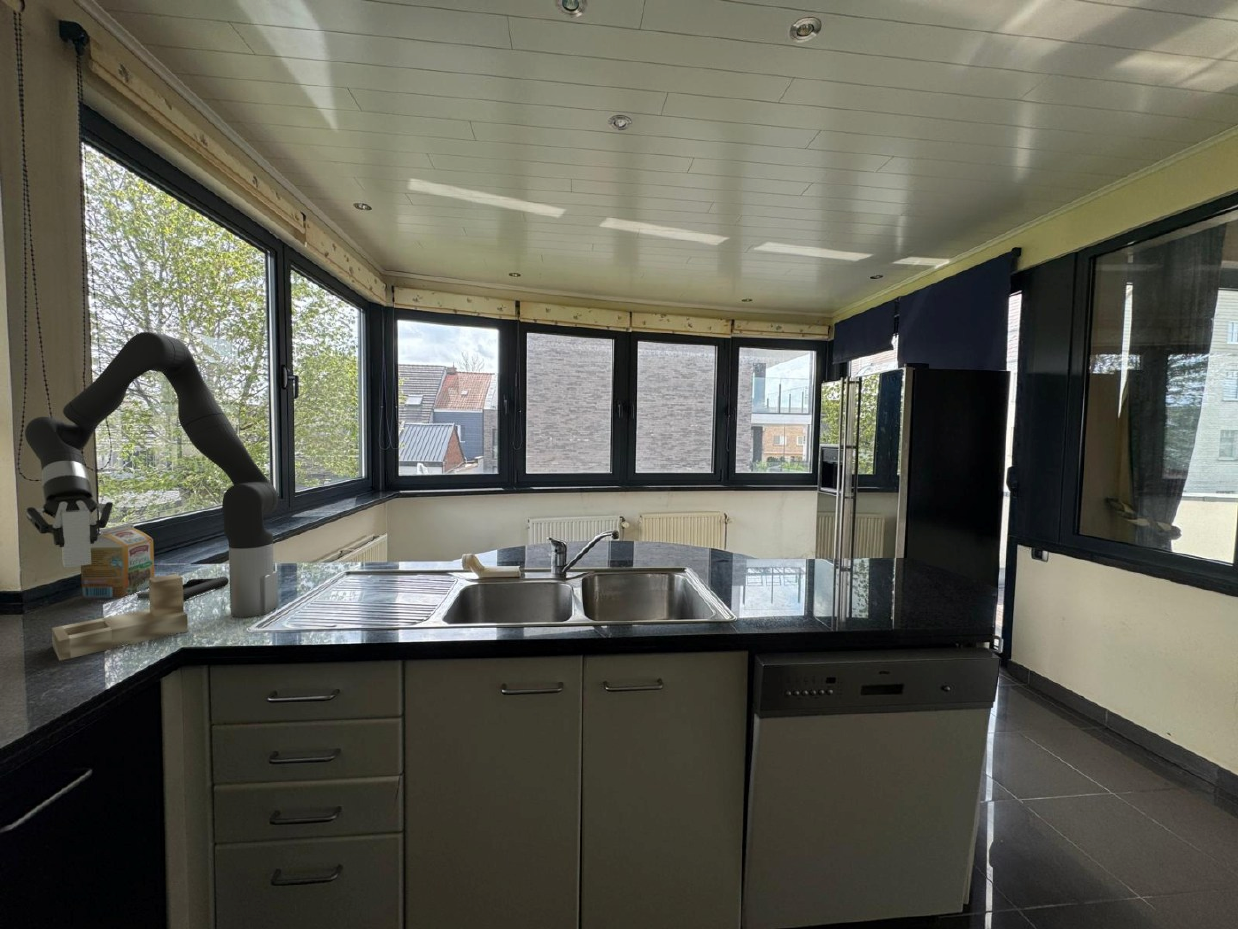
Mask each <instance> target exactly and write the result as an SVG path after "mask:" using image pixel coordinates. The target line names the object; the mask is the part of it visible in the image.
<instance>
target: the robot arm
mask: <svg viewBox="0 0 1238 929" xmlns="http://www.w3.org/2000/svg"><path fill="white" fill-rule="evenodd" d="M150 371H151V372H157V373H162V375H164V377H165V378H166V380H168V382H169V383H170V385H171V387H172V388H173V390H174V392H175V394H176V396H177V402H178V403H177V414H178V422H179V423H180V426H181V428H182V429H183V432H184V433H185V435H186V436H187V438H188V439H189V440H190V442H191V444H192V445H193V446H194V447H195V449H196V450H197V451H199V453H200V454H202V455H203V456H204V457H205V458H207V459H208V460H210V462H212V463H214V465H216V466H217V467H218V468H220V469H221V470H222V471H223V472H224V474H226V476H227V477H228V478H229V480H230V481H231V482H232V484H233V485H231V486H229V488H228V489H226V490H225V492H224V494H223V498H222V503H221V504H222V508H221V511H222V512H221V513H222V521H223V523H222V524H223V531H224V536H225V538H226V539H227V543H228V569H229V572H228V573H229V574H228V575H229V577H228V578H229V604H230V605H229V606H230V607H229V608H230V616H232V617H236V618H237V617H239V618H245V617H254V616H260V615H267V614H269V613H270V612H271V611H273V610H275V609H276V607H277V608H278V607H279V587H278V586H279V584H278V582H279V580H278V576H279V575H278V571H277V570H275V569H274V568H275V566H274V563H275V562H274V534H273V533H272V531H270V530H267V529H266V528H265V524H264V516H267V515H270V514H272V513H273V512H275V510H276V509H277V508H278V504H279V496H278V495H279V494H278V493H277V492H278V491H277V490H276V489H275V487H274V486H273V484H272V483H271V481H270V480H269V479H268V478H267V476H266V475H265V474H264V472H263V471H262V470H261V468H260V467H259V466H258V465H257V464H256V462H255V460H254V459H253V458H252V456H251V455H250V453H249V451H248V449H247V448H246V446H245V445H244V443H243V442H242V440H241V438H239V435H238V433H237V432H236V430H235V428H234V427H233V425H232V423H231V422H230V420H229V418H228V417H227V415H226V413H225V412H224V411H223V409H222V408H221V407H220V405H219V403H218V401H217V400H216V397H215V396H214V395H213V393H212V391H211V390H210V388H209V386H208V385H207V384H206V382H205V379H204V378H203V376H202V374H201V371H200V369H199V367H198V365H197V362H196V360H195V359H194V356H193V354H192V352H191V351H190V349H189V347H188V346H187V345H186V344H185V343H184V342H183V341H182V340H180V339H178V338H176V337H173V336H168V335H165V334H160V333H157V332H151V331H143V332H138V333H137V334H135V335H133V336H132V337H131V338H130V339H129V340H128V341H127V342H126V343H125V344H124V345H123V347H122V348H121V349H120V350H119V351H118V353H117V354H116V355H115V357H114V358H113V359H112V360H111V361H110V363H109V364H108V365H107V366H106V367H105V369H104V370H103V371H102V372H101V374H99V376H98V377H97V378H96V379H95V380H94V381H92V383H90V385H88V386H87V387H86V388H85V389H84V390H82V391H81V392H80V393H78V395H77V396H76V397H74V398H72V399H71V400H70V401H69V402H68V403H67V404H66V405H65V406H64V407H63V409H62V413H63V415H64V417H65V418H66V419H67V420H69V421H70V422H67V421H64V420H60V419H58V418H54V417H51V416H38V417H35V418H33V419H32V420H30V421H29V422H28V423H27V425H26V427H25V429H24V437H25V439H26V442H27V445H29V447H30V448H31V450H32V451H33V453H34V455H35V456H36V457H37V458H38V459H39V461H40V467H41V473H42V474H41V487H42V490H43V496H44V502H45V503H44V504H43V506H42V507H38V508H36V507H28V508H27V509H26V518H27V520H29V522H30V523H31V524H32V525H33V527H34V528H36V530H37V531H38V532H39V533H40V534H42V535H44V534H45V535H46V534H51V535H52V539H53V544H54V545H55V546H58V547H59V548H62V547H64V544H65V540H64V537H63V531H62V528H61V516H60V511H68V510H81V509H87V510H88V511H89V524H90V544H94V541H97V539H98V536H99V532H98V529H106V527H107V524H108V522H109V519H110V517H111V515H112V511H113V507H114V505H113V502H111V501H108V502H106V503H99V502H98V501H97V500H95V499H94V497H93V490H92V486H91V481H90V476H89V473H88V471H87V469H86V464H85V460H84V456H83V453H82V452H81V451H80V450H82V449H84V448H85V447H86V446H87V445H88V442H89V441H90V439H91V437H92V435H93V433H94V432H95V431H96V429H97V428H98V426H99V425H100V424H101V423H102V422H103V421H105V419H107V418H108V417H110V415H112V414H113V413H114V412H115V411H116V410H117V409H119V407H120V406H121V405H122V403H123V401H124V399H125V396H126V395H127V391H128V388H129V386H130V385H131V384H132V383H133V382H134V381H135V380H136V379H138V378H139V377H141V376H142V375H144V374H146V373H147V372H150ZM96 510H98V512H99V513H100V514H101V515H100V518H99V519H95V518H94V516H93V513H94V512H95V511H96ZM44 513H45V514H46V515H48V516H49V517H52V518H53V519H54V521H53V524H49V523H48V522H47V520H46V519H45V518H44V517H43V516H44ZM274 608H275V609H274Z"/></svg>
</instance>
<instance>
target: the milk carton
mask: <svg viewBox="0 0 1238 929" xmlns="http://www.w3.org/2000/svg"><path fill="white" fill-rule="evenodd" d="M134 525H135V524H134V523H127V524H122V525H116V526H112V527H107V528H106V527H105V528H100V531H99V532H100V533H99V534H98V539H97V541H94V544H90V545H91V564H89V565H81V566H80V576H81V578H80V579H81V599H112V598H111V597H125V596H127V595H130V596H133V595H135V594H134V593H136V592H139V591H141V590H143V589H147V590H149V589H148V588H149V578H154V577H156V576H155V561H154V560H155V553H154V552H155V550H154V539H153V538H152V537H151V536H149V535H148V534H146V533H145V532H143V531H141V530H139V529H136V528H135V526H134ZM141 592H142V591H141ZM139 593H140V592H139ZM132 594H133V595H132ZM136 594H137V593H136ZM125 598H126V597H125Z"/></svg>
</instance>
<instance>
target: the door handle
mask: <svg viewBox="0 0 1238 929" xmlns="http://www.w3.org/2000/svg"><path fill="white" fill-rule="evenodd" d="M228 583H230V579H229V577H226V576H219V577H215V578H212V577H211V578H192V579H190V580H187V582H185V583H183V602H184V600H185V601H187V600H186V599H189V598H192V597H194V596H197V595H201V594H203V593H206V592H209V591H211V590H214V589H215V590H218V589H220V588H219V587H221V588H223V587H222V586H224V587H226V586H228ZM225 585H226V586H225ZM217 588H218V589H217ZM136 595H137V599H138V598H149V591H141V592H139V593H136Z"/></svg>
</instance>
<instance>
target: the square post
mask: <svg viewBox="0 0 1238 929" xmlns="http://www.w3.org/2000/svg"><path fill="white" fill-rule="evenodd" d="M60 516H61V528H62V531H63V537H64V540H65V544H64V547H61V555H62V558H61V559H62V566H63V567H64V568H65V569H66V568H72V567H73V568H74V567H78V566H79V567H81V565H89V564H91V545H90V524H89V511H88V510H87V509H81V510H68V511H60Z"/></svg>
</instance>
